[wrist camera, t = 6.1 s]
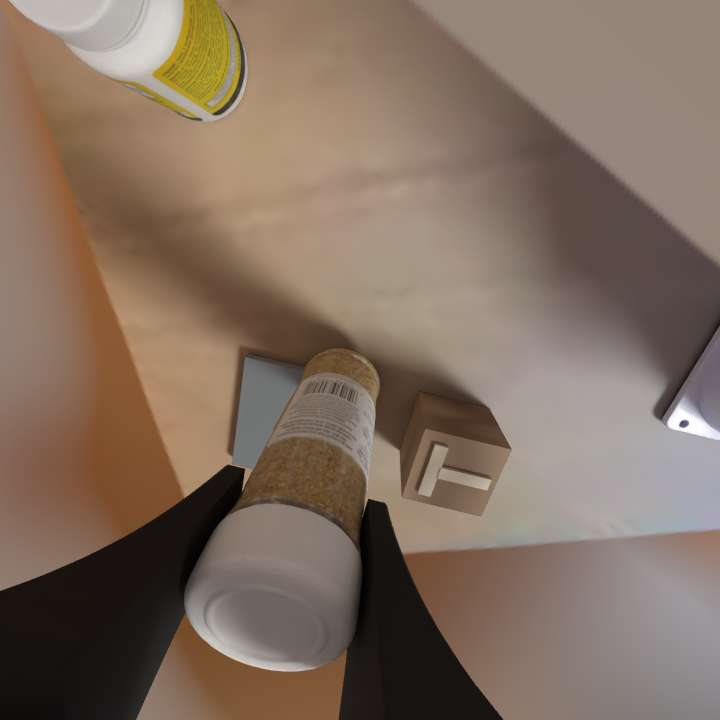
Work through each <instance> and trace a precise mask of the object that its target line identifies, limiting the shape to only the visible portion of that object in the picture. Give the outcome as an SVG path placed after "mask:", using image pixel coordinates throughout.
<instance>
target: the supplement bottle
mask: <svg viewBox="0 0 720 720" xmlns="http://www.w3.org/2000/svg"><path fill="white" fill-rule="evenodd" d="M9 1H10V2H11V3H12V4H13V5H14V6H15V8H16V9H17V10H19V11H20V12H21V13H22V14H23V15H24V16H25V17H27V18H28V19H30V20H31V21H32V22H34V23H35V24H37V25H39V26H40V27H42V28H44V29H45V30H47V31H49V32H50V33H52V34H54V35H55V36H57V37H58V38H60V39H61V40H62V41H63V42H64V43H65V45H66V46H67V47H68V48H69V49H70V50H71V51H72V52H73V53H74V54H75V55H76V56H77V57H78V58H79V59H80V60H81V61H83V62H84V63H85V64H86V65H88V66H89V67H91V68H92V69H94V70H95V71H97V72H99V73H100V74H102V75H104V76H106V77H108V78H110V79H112V80H114V81H116V82H118V83H120V84H122V85H123V86H125V87H127V88H129V89H131V90H133V91H135V92H137V93H139V94H141V95H143V96H145V97H147V98H148V99H150V100H152V101H154V102H156V103H158V104H160V105H162V106H164V107H166V108H168V109H170V110H172V111H174V112H176V113H177V114H179V115H182V116H184V117H186V118H188V119H191V120H194V121H198V122H211V121H215V120H218V119H221V118H223V117H224V116H226V115H228V114H229V113H230V112H231V111H232V110H234V108H235V107H236V106H237V105H238V103H239V102H240V100H241V98H242V96H243V94H244V91H245V87H246V83H247V75H248V65H247V56H246V52H245V48H244V45H243V42H242V39H241V37H240V35H239V32H238V31H237V29H236V27H235V25H234V24H233V22H232V21H231V19H230V18H229V16H228V15H227V14H226V12H225V11H224V10H223V9H222V8H221V6H220V5H219V4H218V3H217V2H216V0H9Z"/></svg>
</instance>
